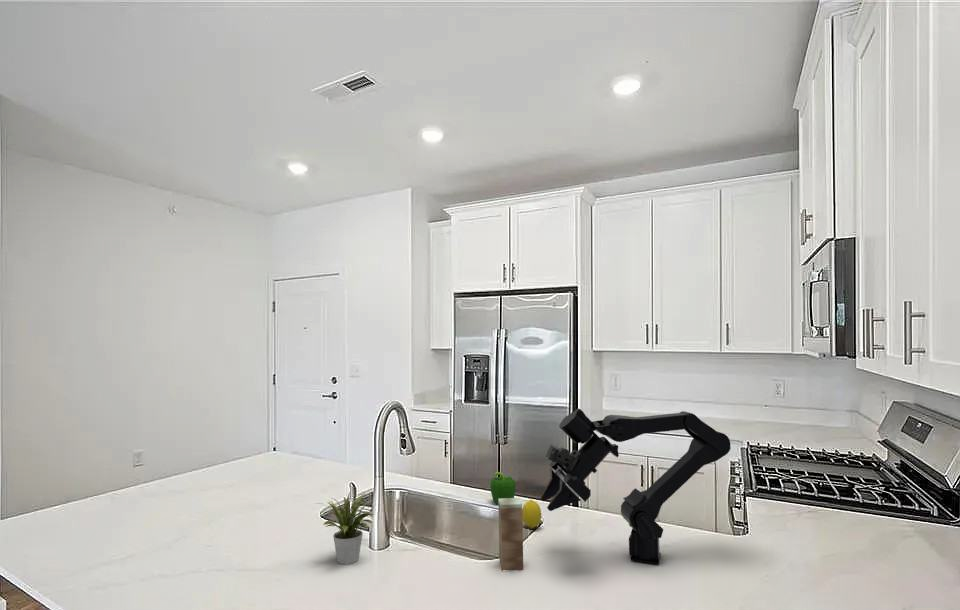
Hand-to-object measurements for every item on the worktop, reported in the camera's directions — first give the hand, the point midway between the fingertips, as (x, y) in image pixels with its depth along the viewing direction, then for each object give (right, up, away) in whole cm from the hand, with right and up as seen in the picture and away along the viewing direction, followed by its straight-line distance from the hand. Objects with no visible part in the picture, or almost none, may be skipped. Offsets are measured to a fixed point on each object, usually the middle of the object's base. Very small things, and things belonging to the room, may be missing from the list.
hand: (545, 504), depth 124 cm
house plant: (-49, -15, +2) cm, 51 cm away
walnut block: (-8, -14, -2) cm, 16 cm away
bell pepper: (-8, -17, +46) cm, 50 cm away
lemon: (-1, -16, +22) cm, 27 cm away
